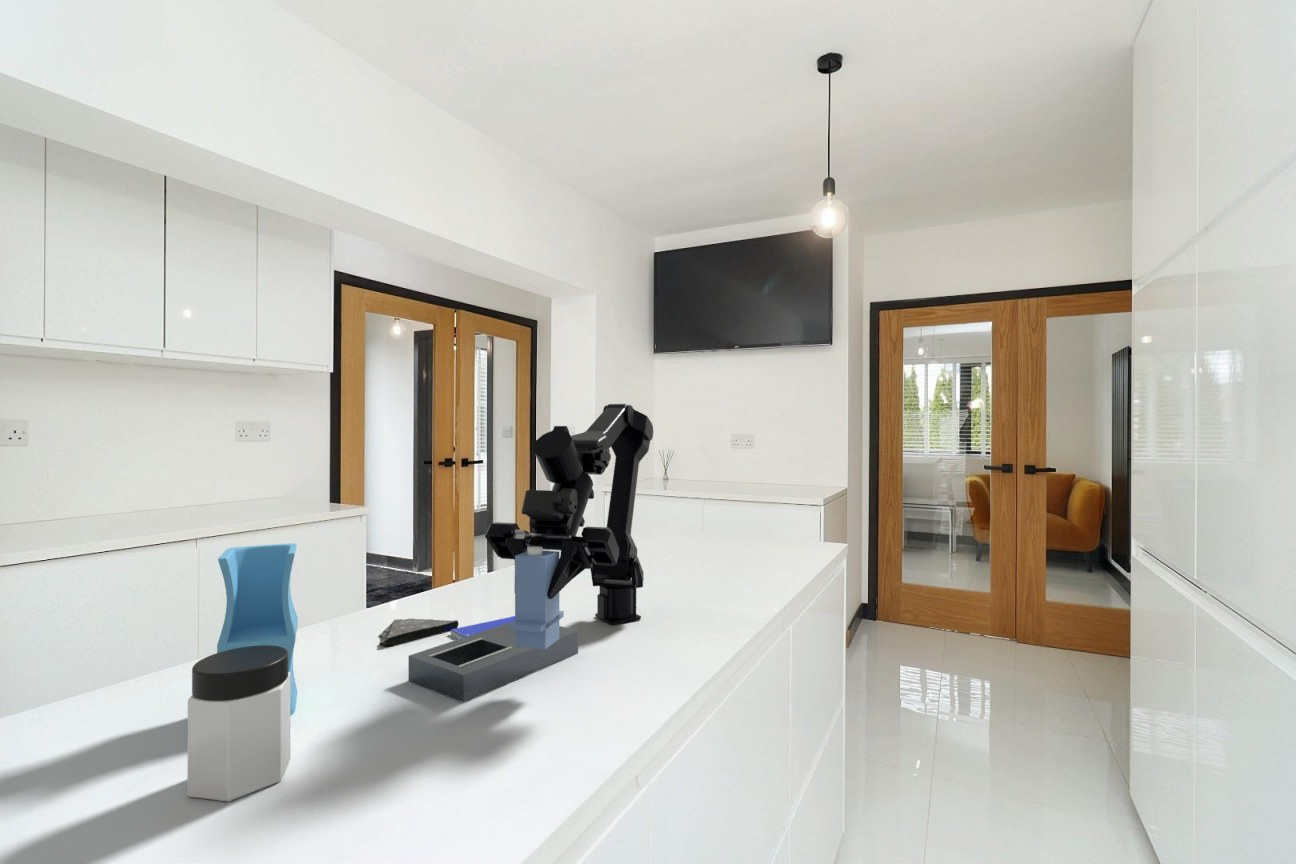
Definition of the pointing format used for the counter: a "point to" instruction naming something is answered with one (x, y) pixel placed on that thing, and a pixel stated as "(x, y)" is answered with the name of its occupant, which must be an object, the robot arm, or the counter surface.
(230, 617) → the vase
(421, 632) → the stone
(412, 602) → the counter surface
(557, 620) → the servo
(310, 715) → the counter surface
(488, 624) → the hard drive
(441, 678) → the plate
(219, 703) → the jar
